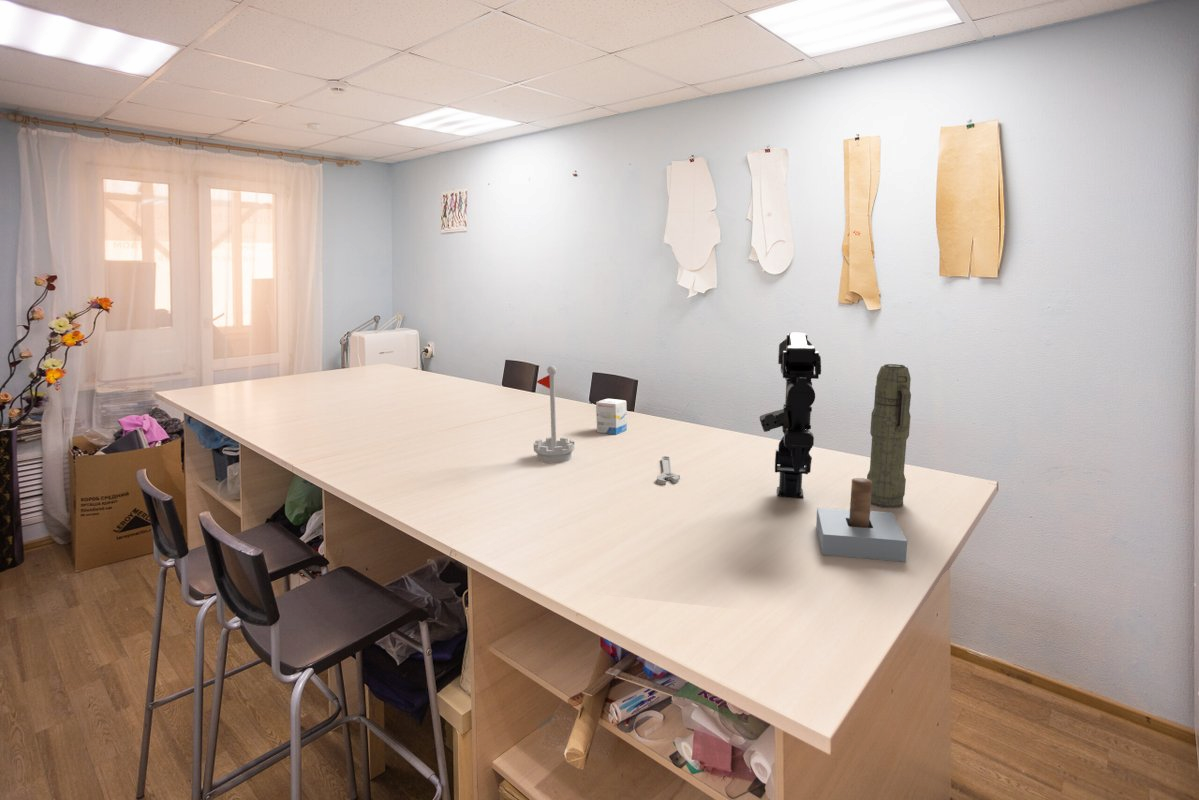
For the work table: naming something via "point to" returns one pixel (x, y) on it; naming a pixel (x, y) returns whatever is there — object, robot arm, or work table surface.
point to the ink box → (611, 416)
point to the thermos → (889, 436)
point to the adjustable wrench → (667, 472)
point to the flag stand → (553, 430)
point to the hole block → (860, 536)
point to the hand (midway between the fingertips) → (795, 465)
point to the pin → (860, 502)
